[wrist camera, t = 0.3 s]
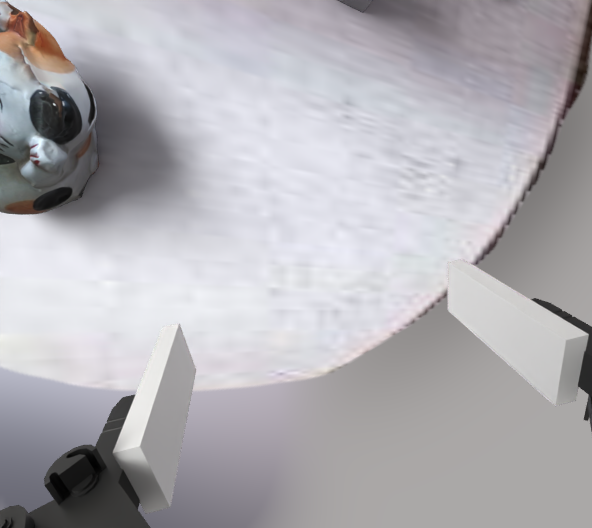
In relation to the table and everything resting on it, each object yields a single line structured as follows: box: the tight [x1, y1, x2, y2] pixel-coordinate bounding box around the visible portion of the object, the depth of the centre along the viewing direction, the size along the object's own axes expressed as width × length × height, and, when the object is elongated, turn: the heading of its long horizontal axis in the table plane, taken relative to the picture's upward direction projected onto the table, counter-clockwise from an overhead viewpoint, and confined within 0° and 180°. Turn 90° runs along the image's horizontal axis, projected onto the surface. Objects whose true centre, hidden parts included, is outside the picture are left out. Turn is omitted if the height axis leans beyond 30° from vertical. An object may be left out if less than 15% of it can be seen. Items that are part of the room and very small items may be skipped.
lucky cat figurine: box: [0, 0, 99, 214], centre depth 29 cm, size 15×12×14 cm
